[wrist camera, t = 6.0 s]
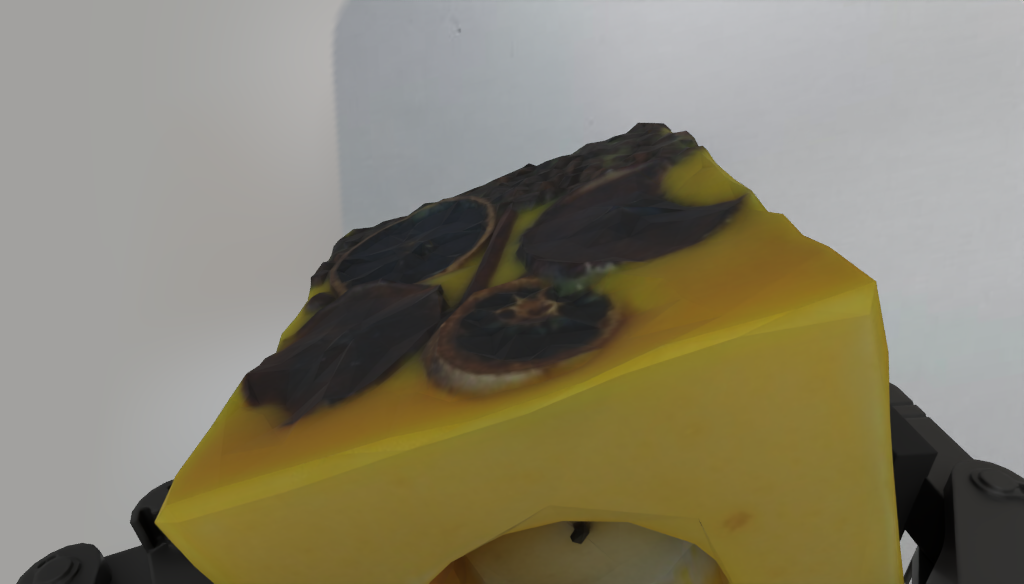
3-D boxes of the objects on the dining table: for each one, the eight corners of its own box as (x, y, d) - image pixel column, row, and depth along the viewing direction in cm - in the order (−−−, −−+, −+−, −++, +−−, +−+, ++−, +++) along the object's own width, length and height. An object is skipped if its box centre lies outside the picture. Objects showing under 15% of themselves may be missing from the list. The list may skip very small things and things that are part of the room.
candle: (732, 387, 19) (939, 721, 10) (466, 469, 20) (446, 823, 12) (665, 104, 14) (936, 264, 6) (329, 235, 16) (124, 525, 7)
